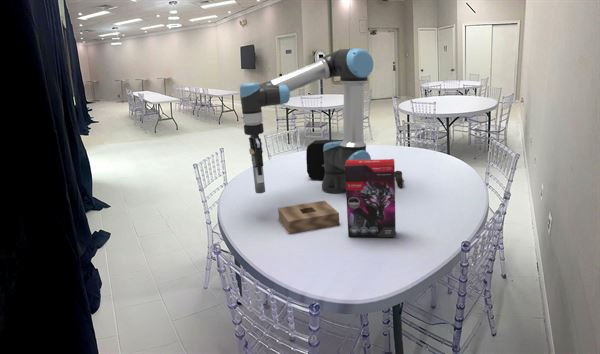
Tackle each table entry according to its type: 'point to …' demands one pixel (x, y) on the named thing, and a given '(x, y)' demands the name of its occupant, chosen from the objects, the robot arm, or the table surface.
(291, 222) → the hole block
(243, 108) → the robot arm
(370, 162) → the graphics card box
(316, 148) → the black hard case
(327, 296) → the table surface
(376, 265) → the table surface
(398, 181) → the hand tool
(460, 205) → the table surface
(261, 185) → the pin
